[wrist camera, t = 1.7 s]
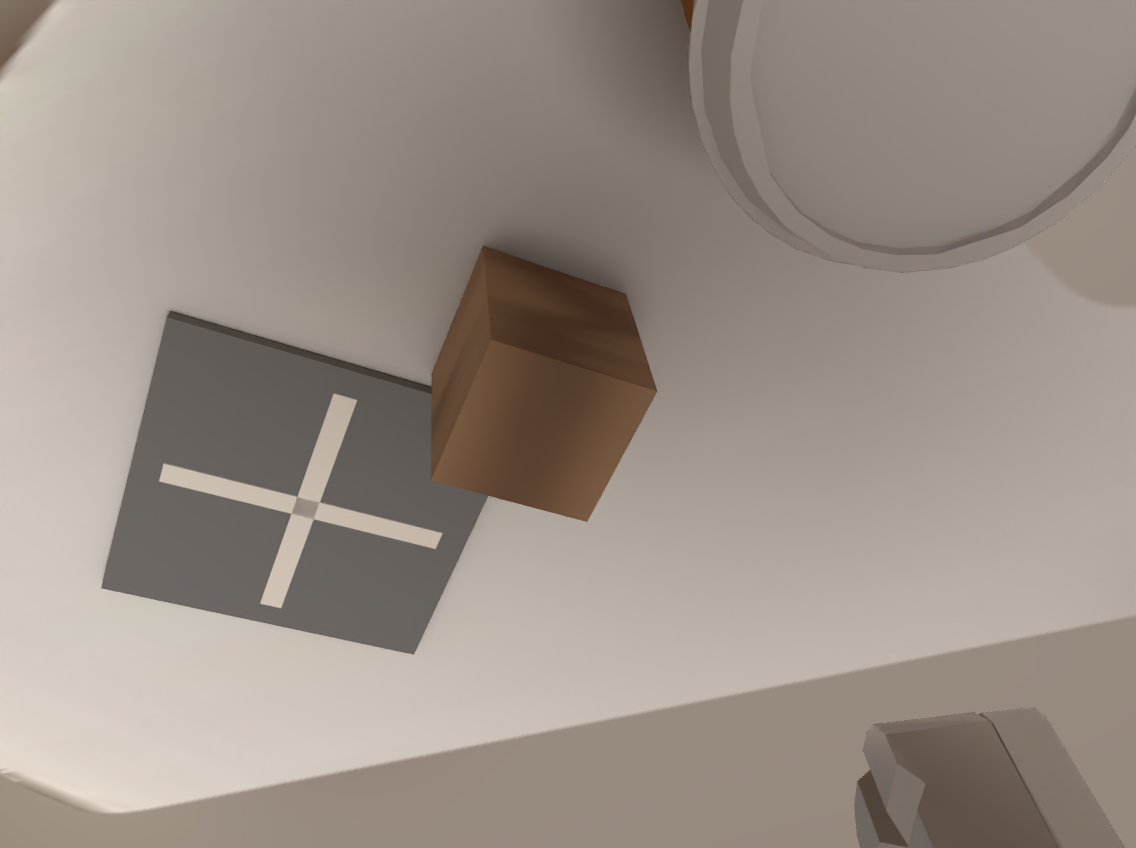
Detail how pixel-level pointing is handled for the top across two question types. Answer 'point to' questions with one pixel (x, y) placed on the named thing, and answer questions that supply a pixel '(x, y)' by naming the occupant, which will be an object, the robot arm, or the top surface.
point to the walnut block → (537, 387)
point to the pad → (287, 491)
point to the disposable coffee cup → (912, 119)
